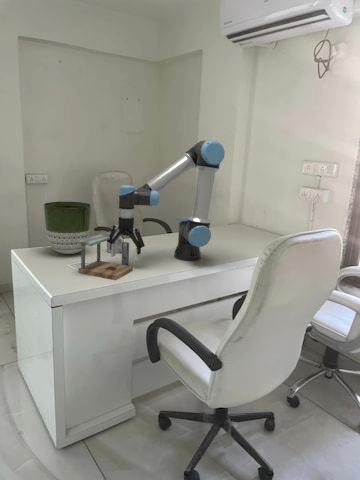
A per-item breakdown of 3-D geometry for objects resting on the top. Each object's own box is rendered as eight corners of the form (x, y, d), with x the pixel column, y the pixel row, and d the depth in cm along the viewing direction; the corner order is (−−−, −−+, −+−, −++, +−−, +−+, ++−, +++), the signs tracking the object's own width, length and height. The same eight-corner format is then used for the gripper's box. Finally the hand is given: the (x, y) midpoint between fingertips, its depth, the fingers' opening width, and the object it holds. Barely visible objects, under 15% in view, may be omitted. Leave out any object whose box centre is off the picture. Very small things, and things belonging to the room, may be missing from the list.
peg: (129, 265, 188) (130, 242, 186) (126, 267, 185) (127, 244, 182) (123, 264, 190) (124, 241, 187) (120, 266, 186) (120, 243, 183)
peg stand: (132, 270, 180) (133, 240, 177) (115, 280, 166) (116, 247, 162) (97, 264, 187) (97, 235, 184) (78, 272, 172) (78, 241, 169)
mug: (103, 251, 212) (103, 232, 209) (115, 248, 218) (115, 230, 216) (117, 255, 204) (117, 236, 202) (128, 253, 211) (129, 234, 208)
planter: (99, 254, 205) (100, 206, 198) (59, 261, 187) (58, 209, 181) (76, 245, 221) (75, 200, 214) (36, 251, 203) (35, 202, 197)
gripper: (152, 218, 181) (150, 260, 186) (108, 213, 189) (107, 252, 194) (145, 221, 174) (143, 263, 179) (100, 214, 182) (99, 256, 187)
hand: (125, 258), depth 186 cm, fingers open, 13 cm apart
